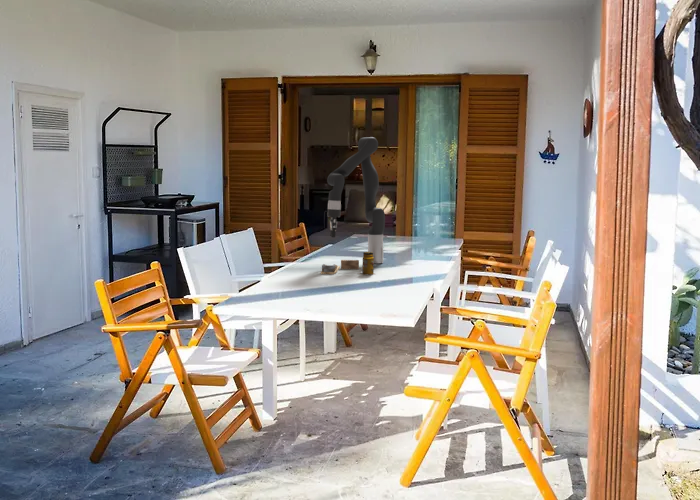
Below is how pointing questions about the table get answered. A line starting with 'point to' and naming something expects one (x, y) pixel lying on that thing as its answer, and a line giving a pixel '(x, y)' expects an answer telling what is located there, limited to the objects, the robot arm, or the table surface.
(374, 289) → the table surface
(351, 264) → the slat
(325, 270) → the guide board
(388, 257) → the table surface
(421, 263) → the table surface
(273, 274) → the table surface
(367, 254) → the condiment
